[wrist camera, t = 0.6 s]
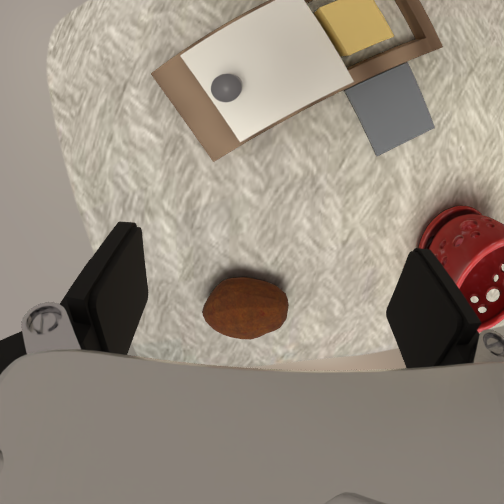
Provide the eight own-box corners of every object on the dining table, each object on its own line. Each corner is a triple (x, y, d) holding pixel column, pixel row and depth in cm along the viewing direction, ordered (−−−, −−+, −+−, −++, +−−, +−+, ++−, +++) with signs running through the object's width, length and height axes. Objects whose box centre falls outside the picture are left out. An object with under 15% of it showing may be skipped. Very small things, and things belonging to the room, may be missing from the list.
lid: (295, -8, 21) (301, -18, 18) (350, 81, 26) (363, 83, 23) (182, 56, 25) (171, 54, 22) (240, 140, 29) (238, 150, 26)
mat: (406, 62, 27) (407, 62, 26) (433, 127, 30) (434, 127, 30) (344, 90, 29) (344, 90, 29) (375, 155, 32) (377, 156, 32)
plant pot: (490, 252, 39) (532, 302, 28) (420, 290, 42) (452, 351, 32) (479, 177, 33) (537, 221, 23) (398, 219, 37) (440, 278, 26)
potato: (292, 307, 44) (296, 348, 38) (218, 320, 46) (212, 360, 39) (279, 256, 40) (283, 296, 33) (197, 274, 41) (186, 313, 35)
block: (351, -1, 23) (366, -11, 19) (375, 39, 26) (394, 36, 21) (310, 16, 25) (319, 7, 21) (335, 57, 27) (348, 55, 23)
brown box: (382, -39, 20) (391, -45, 18) (431, 47, 25) (442, 47, 23) (158, 73, 28) (150, 73, 26) (216, 155, 33) (213, 161, 31)
